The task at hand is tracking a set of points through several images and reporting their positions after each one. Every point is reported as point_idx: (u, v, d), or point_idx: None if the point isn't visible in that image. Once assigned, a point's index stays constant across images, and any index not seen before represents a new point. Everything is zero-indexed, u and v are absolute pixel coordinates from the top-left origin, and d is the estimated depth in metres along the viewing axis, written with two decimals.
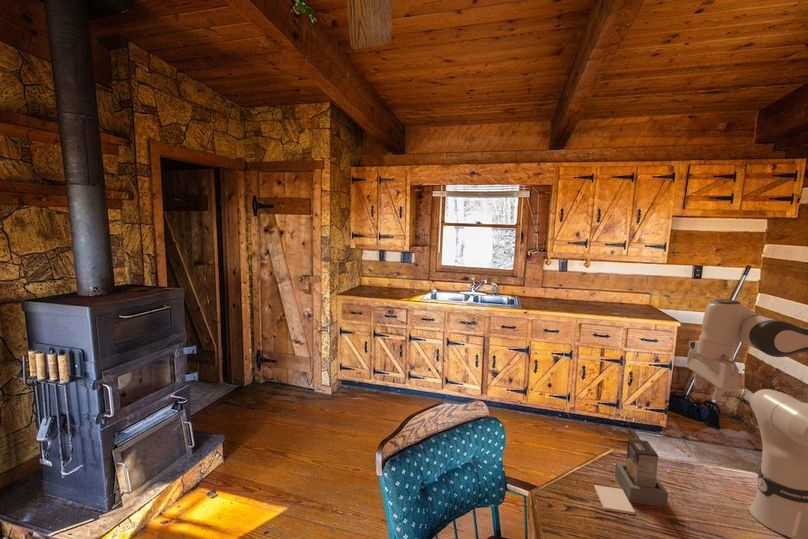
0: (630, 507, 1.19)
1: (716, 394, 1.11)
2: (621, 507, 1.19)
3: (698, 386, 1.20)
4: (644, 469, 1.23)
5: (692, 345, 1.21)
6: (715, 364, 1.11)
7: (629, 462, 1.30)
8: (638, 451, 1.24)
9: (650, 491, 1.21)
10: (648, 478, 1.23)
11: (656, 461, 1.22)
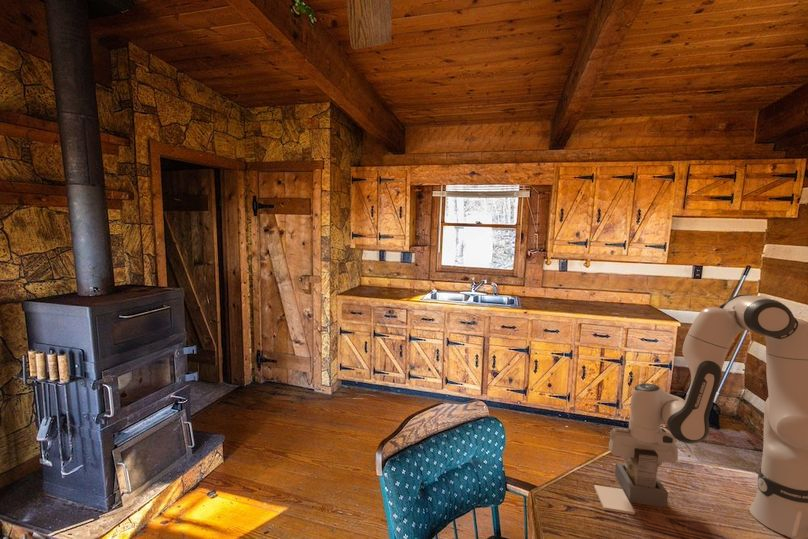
0: (630, 507, 1.19)
1: (625, 461, 1.29)
2: (621, 507, 1.19)
3: None
4: (644, 469, 1.23)
5: None
6: None
7: None
8: (638, 451, 1.24)
9: (650, 491, 1.21)
10: (648, 478, 1.23)
11: (656, 461, 1.22)
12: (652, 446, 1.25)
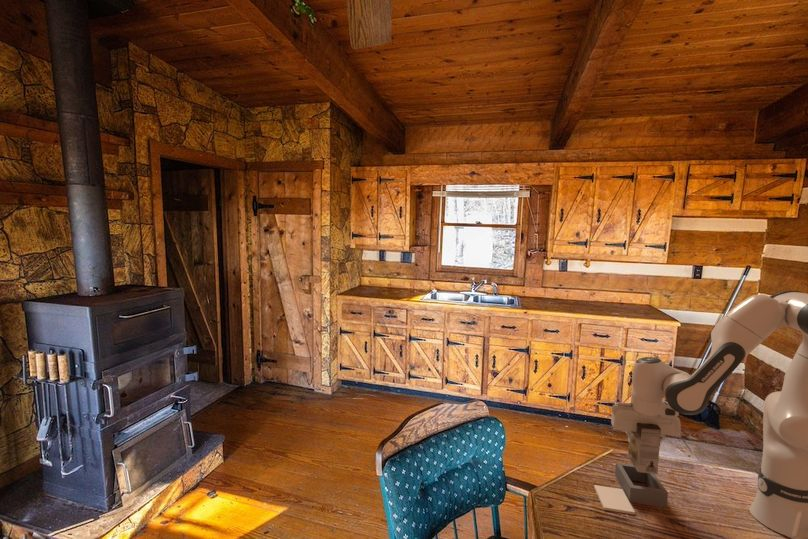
0: (630, 507, 1.19)
1: None
2: (621, 507, 1.19)
3: None
4: (647, 443, 1.22)
5: None
6: None
7: None
8: (640, 425, 1.23)
9: (650, 491, 1.21)
10: (651, 452, 1.22)
11: (659, 435, 1.21)
12: (655, 419, 1.24)
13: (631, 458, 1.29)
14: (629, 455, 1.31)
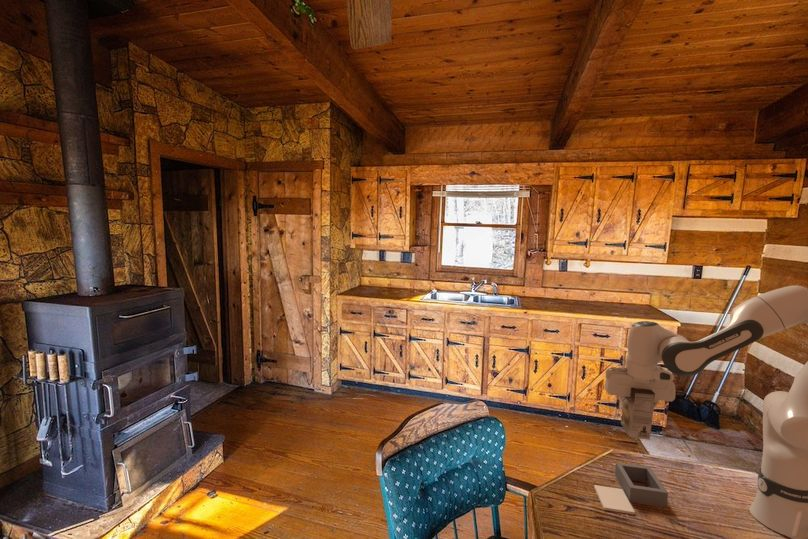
0: (630, 507, 1.19)
1: (621, 401, 1.25)
2: (621, 507, 1.19)
3: None
4: (640, 407, 1.19)
5: None
6: None
7: None
8: (634, 390, 1.20)
9: (650, 491, 1.21)
10: (644, 417, 1.20)
11: (653, 399, 1.18)
12: (649, 384, 1.21)
13: (623, 424, 1.27)
14: (622, 422, 1.28)
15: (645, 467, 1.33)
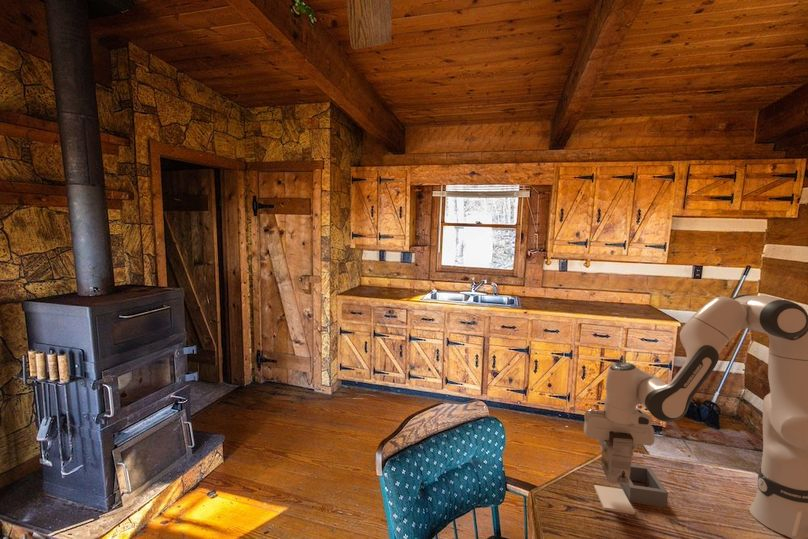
0: (630, 507, 1.19)
1: None
2: (621, 507, 1.19)
3: None
4: (619, 452, 1.17)
5: None
6: None
7: None
8: (613, 434, 1.18)
9: (650, 491, 1.21)
10: (622, 462, 1.17)
11: (631, 444, 1.16)
12: (628, 428, 1.19)
13: (603, 467, 1.24)
14: (602, 464, 1.26)
15: (645, 467, 1.33)
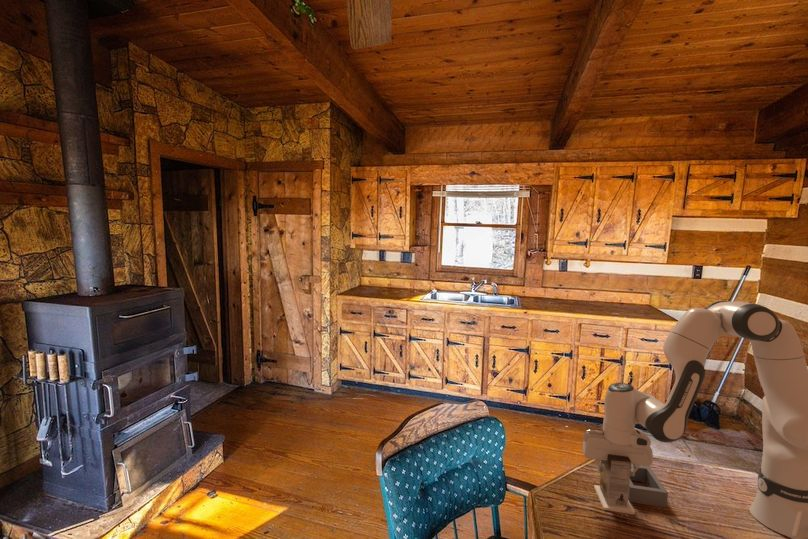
0: (630, 507, 1.19)
1: None
2: (621, 507, 1.19)
3: None
4: (617, 475, 1.18)
5: None
6: None
7: None
8: (610, 457, 1.19)
9: (650, 491, 1.21)
10: (620, 485, 1.18)
11: (629, 467, 1.17)
12: (626, 449, 1.19)
13: (602, 489, 1.25)
14: (600, 486, 1.27)
15: (645, 467, 1.33)
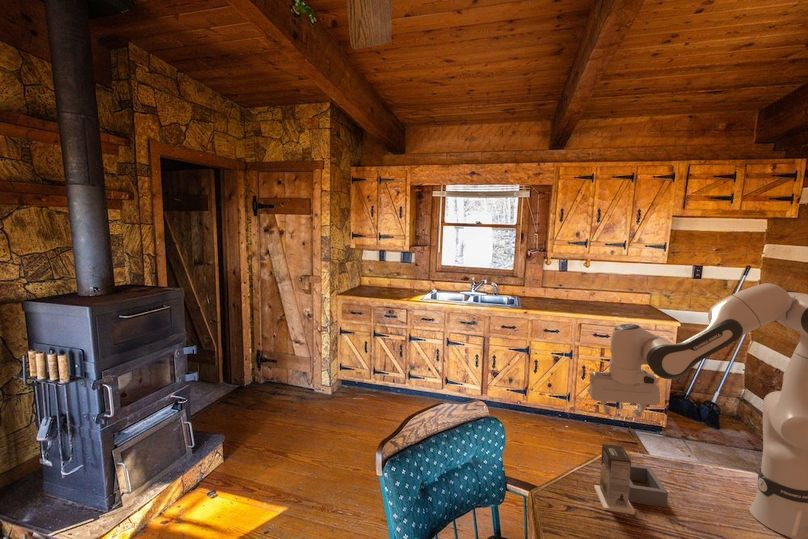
0: (630, 507, 1.19)
1: (603, 406, 1.23)
2: (621, 507, 1.19)
3: (635, 414, 1.21)
4: (617, 475, 1.18)
5: None
6: None
7: (602, 467, 1.25)
8: (611, 457, 1.19)
9: (650, 491, 1.21)
10: (620, 485, 1.18)
11: (629, 467, 1.17)
12: (633, 388, 1.19)
13: (602, 489, 1.25)
14: (600, 486, 1.27)
15: (645, 467, 1.33)
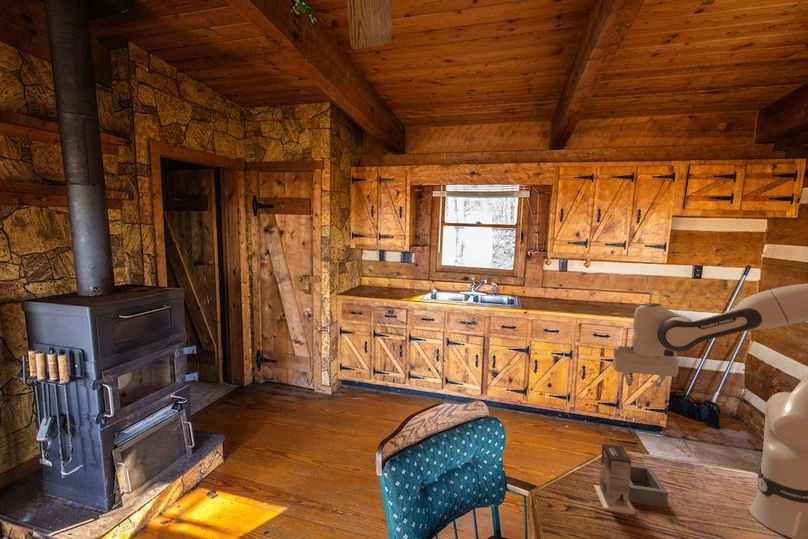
0: (630, 507, 1.19)
1: None
2: (621, 507, 1.19)
3: (655, 384, 1.33)
4: (617, 475, 1.18)
5: None
6: None
7: (602, 467, 1.25)
8: (611, 457, 1.19)
9: (650, 491, 1.21)
10: (620, 485, 1.18)
11: (629, 467, 1.17)
12: (654, 361, 1.31)
13: (602, 489, 1.25)
14: (600, 486, 1.27)
15: (645, 467, 1.33)
